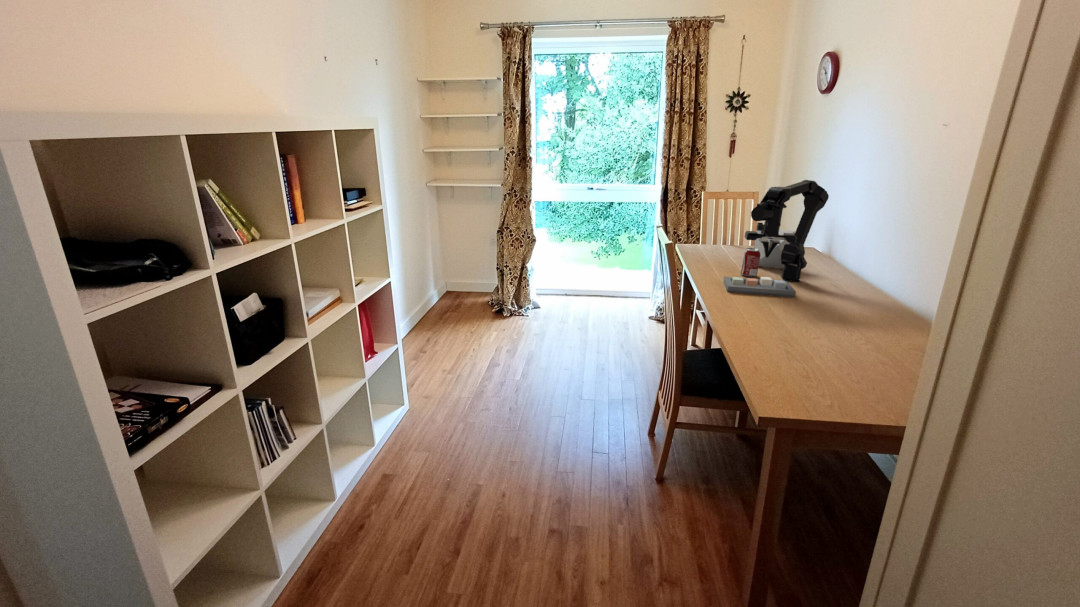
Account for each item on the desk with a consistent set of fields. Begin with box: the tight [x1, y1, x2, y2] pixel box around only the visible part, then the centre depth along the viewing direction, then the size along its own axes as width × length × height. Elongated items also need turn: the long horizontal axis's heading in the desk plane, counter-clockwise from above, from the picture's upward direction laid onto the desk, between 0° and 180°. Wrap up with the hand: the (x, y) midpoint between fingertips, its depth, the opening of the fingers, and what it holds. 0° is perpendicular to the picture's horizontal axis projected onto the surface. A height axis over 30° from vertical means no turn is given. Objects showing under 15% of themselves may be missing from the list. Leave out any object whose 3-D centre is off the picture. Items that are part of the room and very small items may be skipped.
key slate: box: [773, 279, 787, 289], centre depth 205 cm, size 4×4×3 cm
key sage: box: [731, 276, 744, 286], centre depth 208 cm, size 4×4×3 cm
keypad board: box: [722, 276, 797, 298], centre depth 207 cm, size 25×14×2 cm, turn 78°
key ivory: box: [759, 276, 774, 286], centre depth 206 cm, size 4×4×3 cm
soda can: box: [740, 247, 760, 278], centre depth 225 cm, size 7×7×12 cm
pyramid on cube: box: [753, 229, 796, 270], centre depth 239 cm, size 17×24×18 cm
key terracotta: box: [745, 277, 758, 287], centre depth 207 cm, size 4×4×3 cm
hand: (766, 257), depth 209 cm, fingers closed
